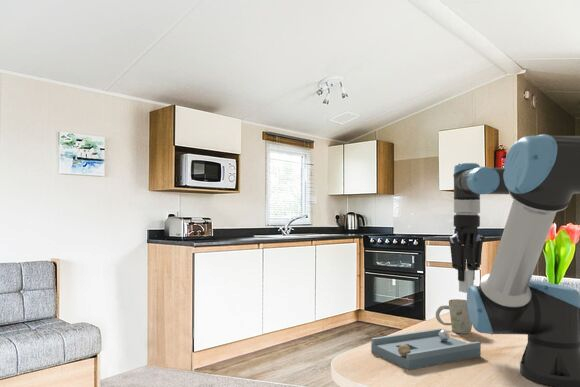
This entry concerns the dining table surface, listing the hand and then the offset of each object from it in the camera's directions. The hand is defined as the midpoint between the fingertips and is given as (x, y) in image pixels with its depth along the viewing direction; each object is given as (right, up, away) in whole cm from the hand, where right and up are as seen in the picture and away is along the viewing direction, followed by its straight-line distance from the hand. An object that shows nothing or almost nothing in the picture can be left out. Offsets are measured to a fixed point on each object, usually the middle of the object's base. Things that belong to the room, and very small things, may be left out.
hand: (466, 291), depth 143 cm
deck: (-15, -16, -9) cm, 24 cm away
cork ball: (-23, -12, -19) cm, 32 cm away
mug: (+2, -17, +17) cm, 24 cm away
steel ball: (-8, -12, -4) cm, 15 cm away
